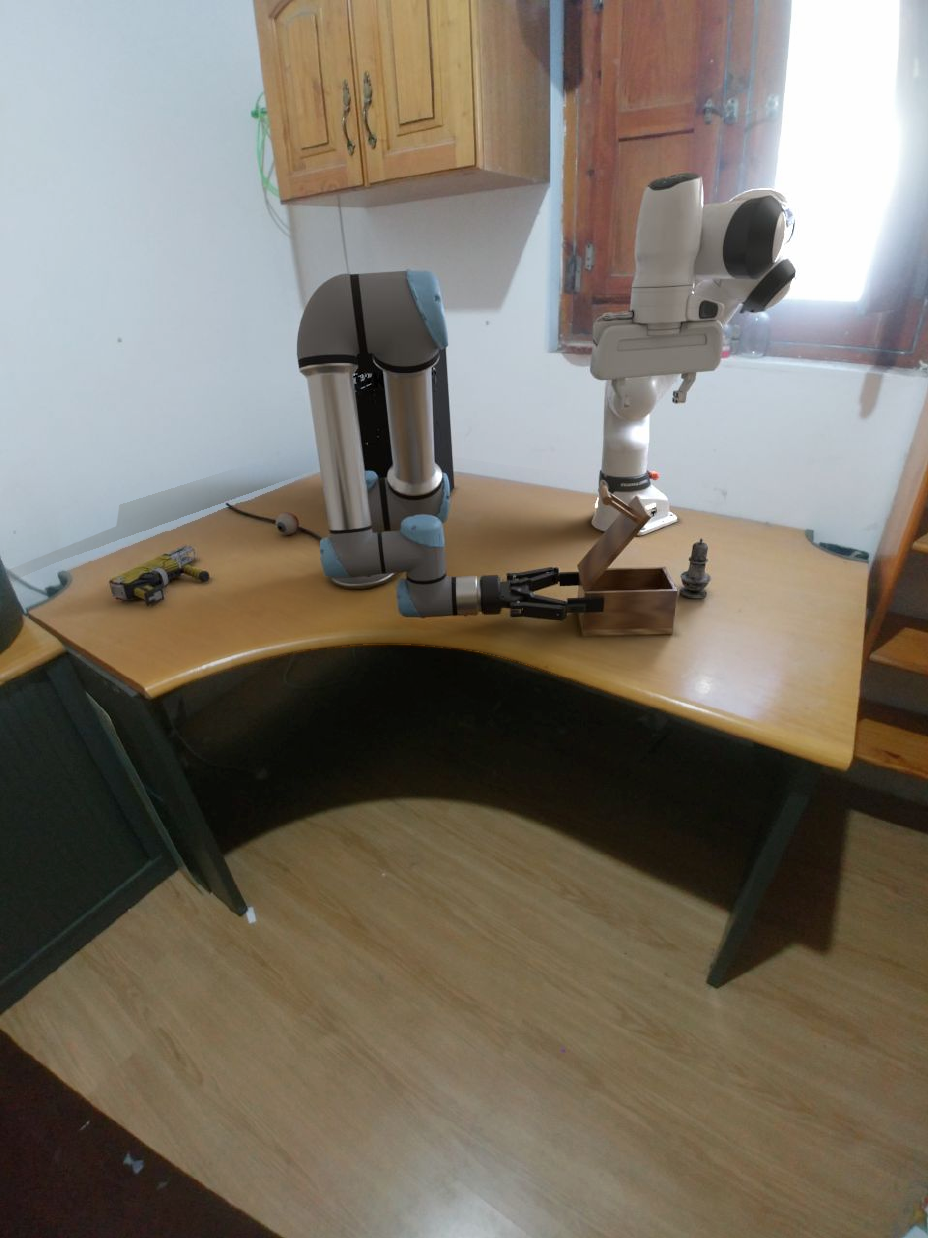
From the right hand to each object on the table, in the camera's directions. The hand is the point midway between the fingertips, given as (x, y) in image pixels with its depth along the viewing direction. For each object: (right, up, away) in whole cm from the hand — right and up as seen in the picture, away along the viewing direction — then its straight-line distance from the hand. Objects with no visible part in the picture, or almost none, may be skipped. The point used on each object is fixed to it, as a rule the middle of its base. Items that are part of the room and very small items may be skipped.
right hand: (651, 405), depth 96 cm
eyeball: (-78, -11, +69) cm, 104 cm away
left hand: (-5, -29, +17) cm, 34 cm away
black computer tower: (-47, -1, +83) cm, 96 cm away
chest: (+1, -35, +20) cm, 40 cm away
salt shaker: (+17, -29, +28) cm, 44 cm away
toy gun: (-98, -26, +45) cm, 111 cm away
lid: (-3, -21, +12) cm, 24 cm away
